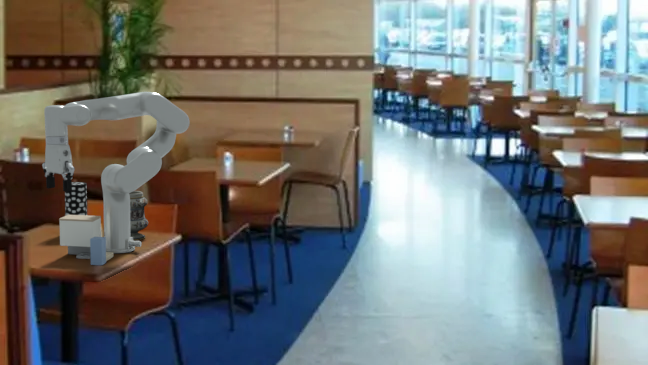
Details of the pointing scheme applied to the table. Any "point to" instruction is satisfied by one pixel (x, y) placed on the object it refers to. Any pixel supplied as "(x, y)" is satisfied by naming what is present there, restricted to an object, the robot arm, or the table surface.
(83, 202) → the spotted tube
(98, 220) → the cabinet
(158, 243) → the table surface
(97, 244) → the light blue block
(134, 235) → the apothecary jar
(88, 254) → the block
